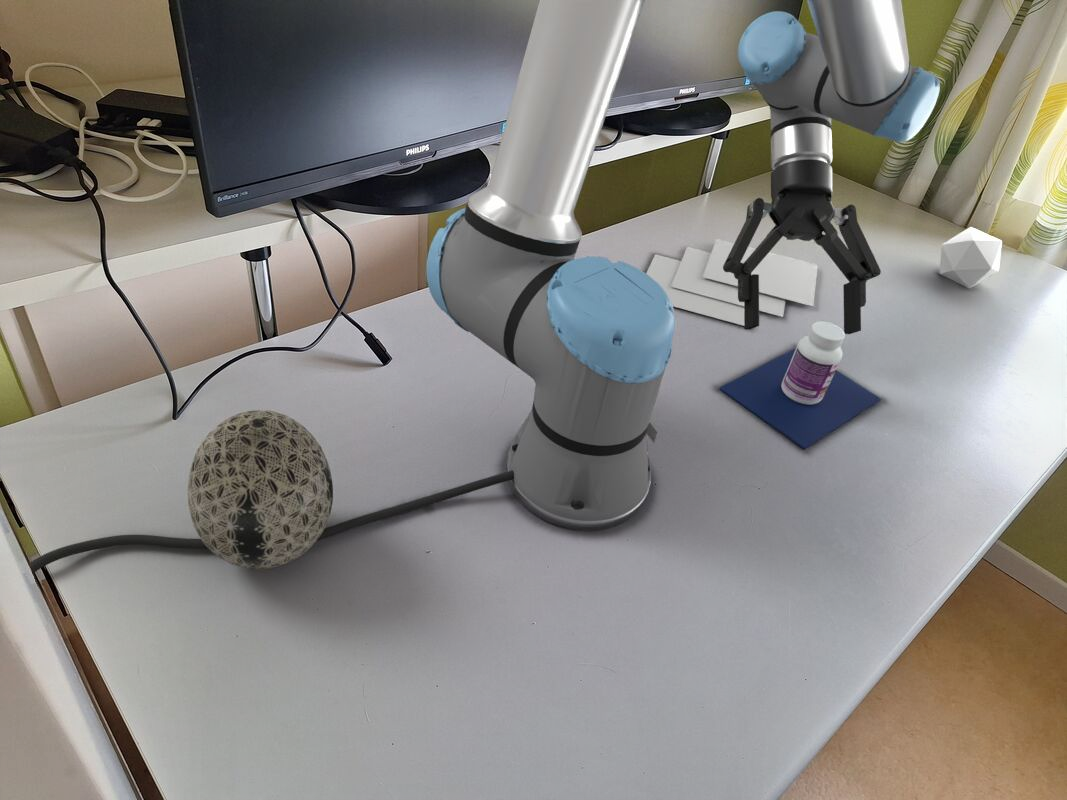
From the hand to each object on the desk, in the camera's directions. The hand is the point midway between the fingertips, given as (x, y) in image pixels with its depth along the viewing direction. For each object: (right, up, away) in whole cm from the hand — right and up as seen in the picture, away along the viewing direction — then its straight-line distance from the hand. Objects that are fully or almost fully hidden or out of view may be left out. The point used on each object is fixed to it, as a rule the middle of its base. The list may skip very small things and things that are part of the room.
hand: (802, 330), depth 97 cm
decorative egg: (-58, -22, -27) cm, 68 cm away
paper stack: (-4, +9, +20) cm, 23 cm away
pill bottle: (0, -8, 0) cm, 8 cm away
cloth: (0, -8, 0) cm, 8 cm away
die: (+36, +11, +30) cm, 48 cm away
